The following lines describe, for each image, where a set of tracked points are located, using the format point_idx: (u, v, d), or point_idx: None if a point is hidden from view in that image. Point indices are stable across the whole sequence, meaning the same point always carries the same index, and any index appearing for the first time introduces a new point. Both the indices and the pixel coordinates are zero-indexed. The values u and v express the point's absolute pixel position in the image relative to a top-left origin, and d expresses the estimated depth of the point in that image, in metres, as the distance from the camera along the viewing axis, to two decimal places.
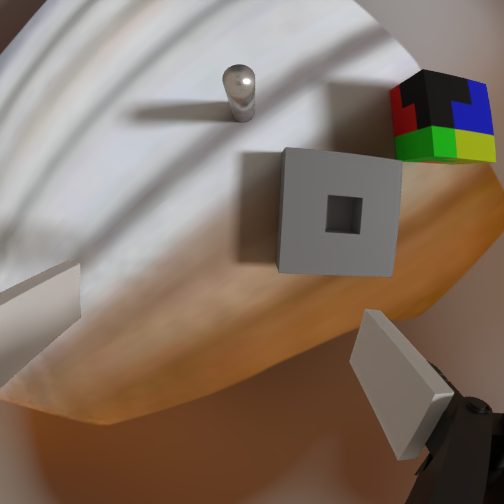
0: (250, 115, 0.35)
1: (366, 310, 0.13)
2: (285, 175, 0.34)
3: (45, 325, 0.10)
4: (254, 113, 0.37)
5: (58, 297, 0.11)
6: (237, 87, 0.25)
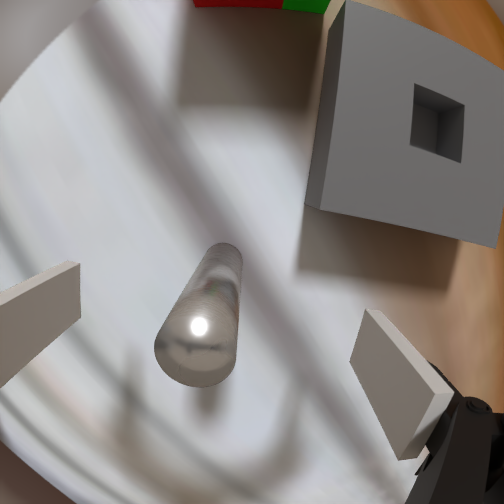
0: (238, 259, 0.20)
1: (366, 310, 0.13)
2: (371, 217, 0.17)
3: (45, 325, 0.10)
4: (228, 244, 0.22)
5: (58, 297, 0.11)
6: (220, 360, 0.10)
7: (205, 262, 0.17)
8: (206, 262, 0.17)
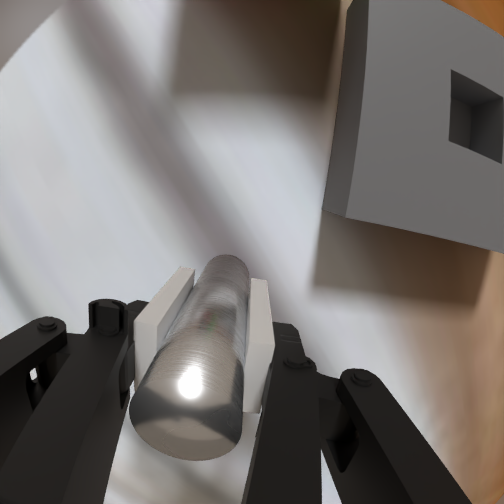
0: (244, 276, 0.17)
1: (251, 279, 0.15)
2: (405, 227, 0.14)
3: None
4: (232, 256, 0.19)
5: None
6: (219, 433, 0.07)
7: (203, 282, 0.14)
8: (204, 283, 0.14)
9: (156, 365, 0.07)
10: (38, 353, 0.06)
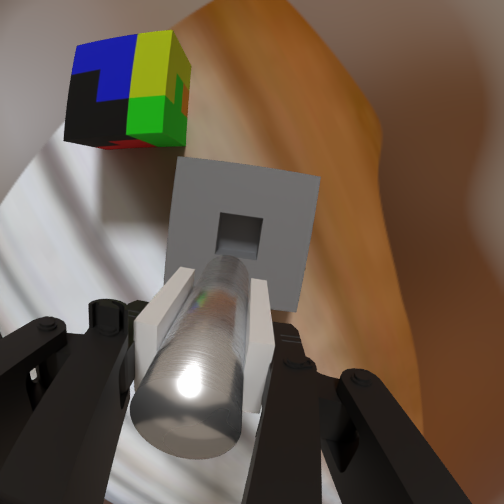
0: (243, 276, 0.17)
1: (251, 279, 0.15)
2: None
3: None
4: (232, 256, 0.19)
5: None
6: (219, 432, 0.07)
7: (203, 283, 0.14)
8: (204, 283, 0.14)
9: (157, 365, 0.07)
10: (38, 353, 0.06)
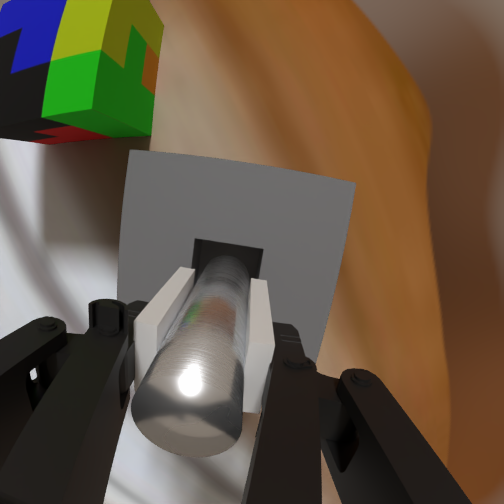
0: (244, 276, 0.17)
1: (251, 279, 0.15)
2: None
3: None
4: (232, 256, 0.19)
5: None
6: (220, 430, 0.07)
7: (203, 282, 0.14)
8: (205, 282, 0.14)
9: (158, 363, 0.07)
10: (38, 353, 0.06)
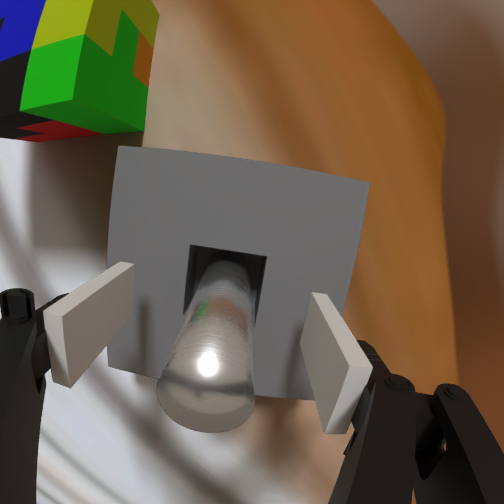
0: (245, 270, 0.18)
1: (312, 293, 0.14)
2: (151, 375, 0.19)
3: (107, 324, 0.12)
4: (234, 252, 0.20)
5: (118, 297, 0.13)
6: (235, 405, 0.08)
7: (210, 276, 0.15)
8: (211, 277, 0.15)
9: (180, 348, 0.09)
10: None
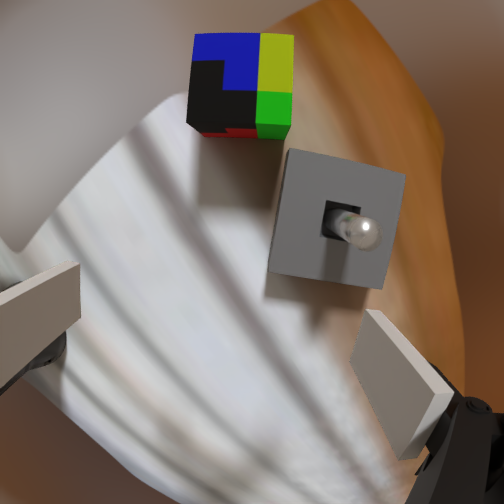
0: None
1: (366, 310, 0.13)
2: (295, 275, 0.36)
3: (45, 325, 0.10)
4: None
5: (58, 297, 0.11)
6: (377, 237, 0.25)
7: (341, 211, 0.32)
8: (341, 211, 0.32)
9: (357, 219, 0.26)
10: None
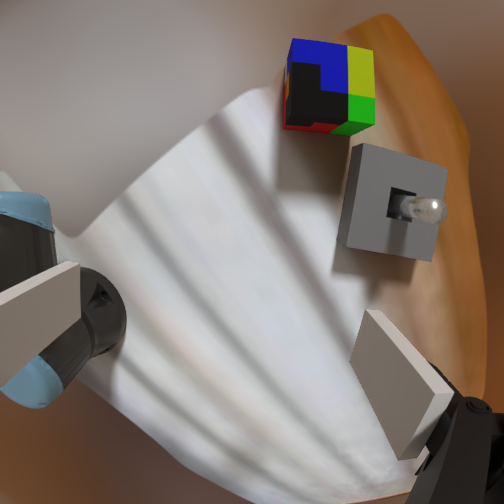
0: None
1: (366, 310, 0.13)
2: (367, 249, 0.41)
3: (45, 325, 0.10)
4: None
5: (58, 297, 0.11)
6: (443, 213, 0.30)
7: (405, 196, 0.37)
8: (405, 196, 0.37)
9: (428, 200, 0.31)
10: None
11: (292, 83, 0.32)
